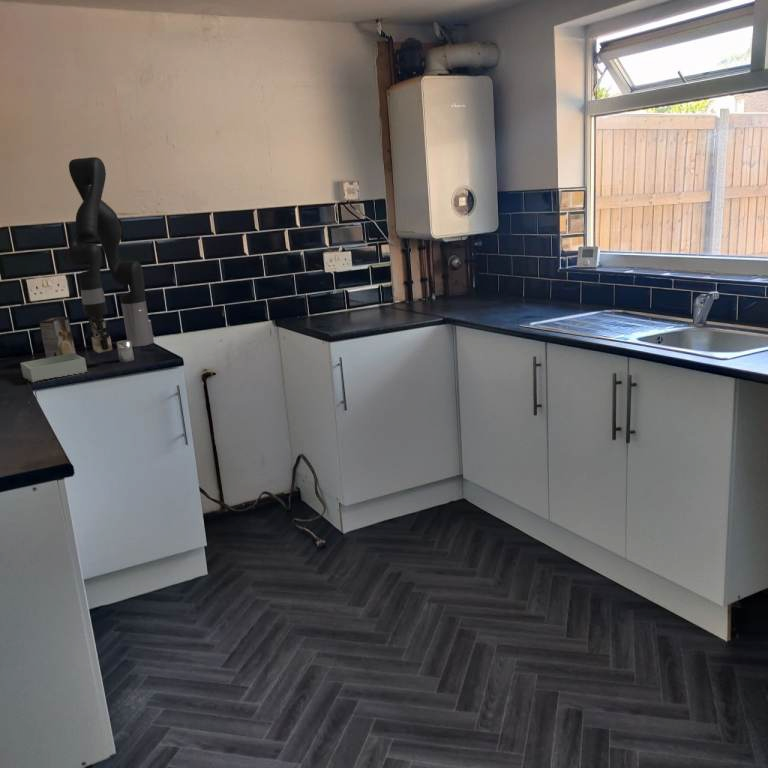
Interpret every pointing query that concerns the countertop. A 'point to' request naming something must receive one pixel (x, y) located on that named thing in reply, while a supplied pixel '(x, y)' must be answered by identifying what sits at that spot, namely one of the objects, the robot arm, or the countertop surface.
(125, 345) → the grey metal cylinder
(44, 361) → the tote
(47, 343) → the coffee box
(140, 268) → the robot arm
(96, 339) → the beech cube
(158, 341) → the countertop surface
